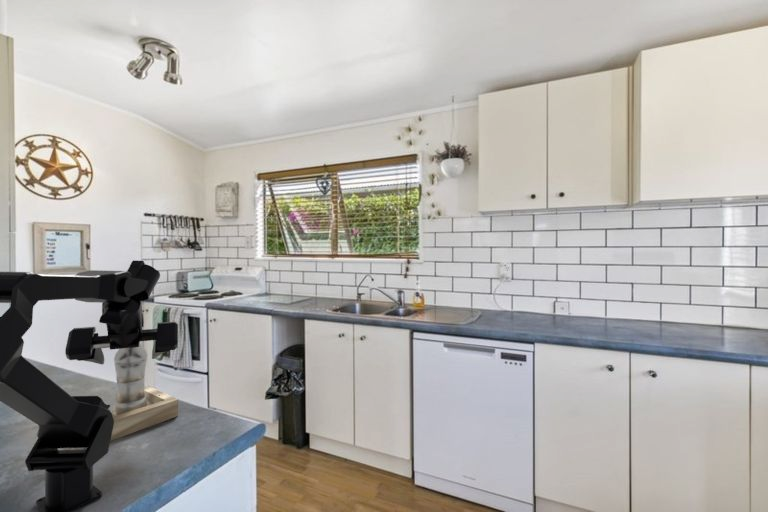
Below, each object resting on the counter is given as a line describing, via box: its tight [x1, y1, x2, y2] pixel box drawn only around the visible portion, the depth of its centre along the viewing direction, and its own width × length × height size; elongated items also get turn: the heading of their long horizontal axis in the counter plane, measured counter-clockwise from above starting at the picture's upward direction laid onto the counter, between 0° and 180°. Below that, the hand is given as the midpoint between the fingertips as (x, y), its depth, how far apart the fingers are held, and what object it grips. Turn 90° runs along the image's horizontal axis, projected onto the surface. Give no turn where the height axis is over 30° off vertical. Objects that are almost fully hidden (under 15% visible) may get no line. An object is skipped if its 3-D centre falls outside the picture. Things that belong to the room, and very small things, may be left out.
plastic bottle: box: [112, 341, 148, 416], centre depth 84 cm, size 6×7×20 cm
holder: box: [110, 385, 179, 442], centre depth 84 cm, size 14×14×4 cm
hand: (128, 359), depth 81 cm, fingers open, 9 cm apart
